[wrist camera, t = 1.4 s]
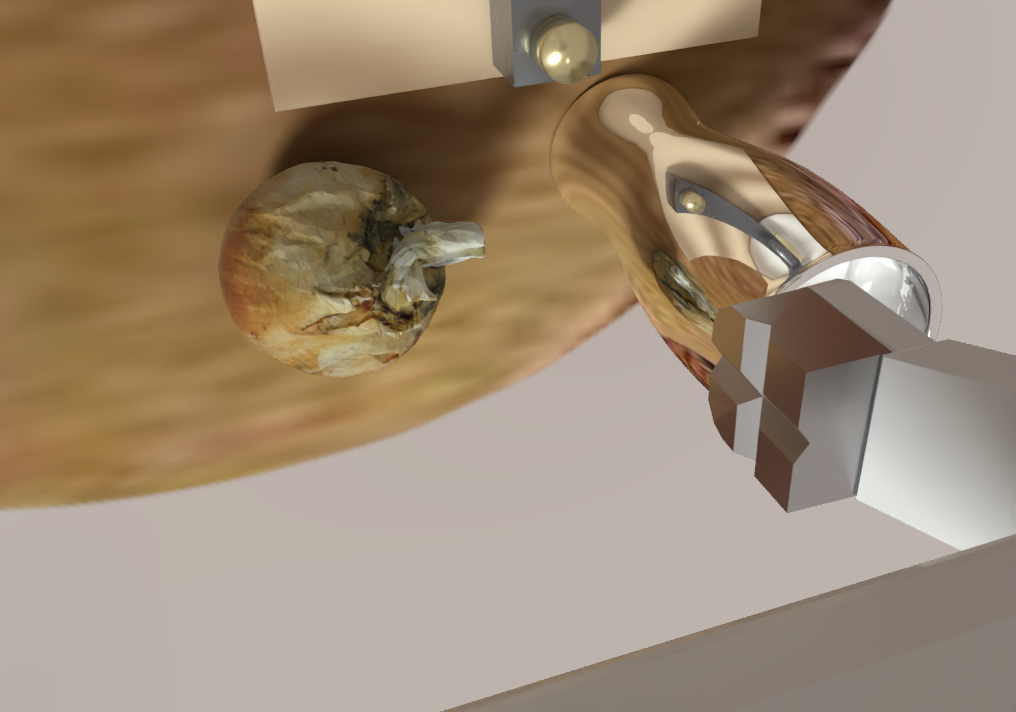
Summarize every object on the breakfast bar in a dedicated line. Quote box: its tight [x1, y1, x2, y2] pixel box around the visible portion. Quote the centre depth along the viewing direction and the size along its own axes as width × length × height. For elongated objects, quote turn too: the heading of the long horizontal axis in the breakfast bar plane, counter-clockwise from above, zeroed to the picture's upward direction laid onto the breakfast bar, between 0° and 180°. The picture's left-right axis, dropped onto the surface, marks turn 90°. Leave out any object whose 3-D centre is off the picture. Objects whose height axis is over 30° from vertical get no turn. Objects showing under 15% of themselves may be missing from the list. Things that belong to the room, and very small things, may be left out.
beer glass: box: [550, 74, 942, 391], centre depth 32 cm, size 7×7×15 cm
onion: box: [218, 161, 485, 377], centre depth 33 cm, size 8×8×8 cm
